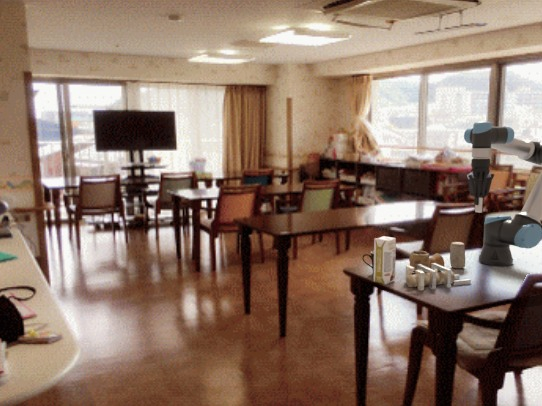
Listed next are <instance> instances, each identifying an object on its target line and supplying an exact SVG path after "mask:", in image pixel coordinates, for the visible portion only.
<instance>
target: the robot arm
mask: <svg viewBox="0 0 542 406" xmlns="http://www.w3.org/2000/svg"><path fill="white" fill-rule="evenodd" d="M463 140H464V141H465V142H466V143H467V144H471V145H472V147H471V157H472V158H471V160H470V161H471V163H470V164H471V165H470V166H471V171H470V173H468V174H466V175H465V177H466V179H467V183H468V184H467V185H468V190H469V194H470V196H471V197H473V205H474V212H475V213H479V214H480V213H483V205H484V204H485V203H484V202H485V198H486V197H487V196H489V193H490V189H491V185H492V181H493V179H494V177H495V174H494V173H492V172H490V171H491V170H490V167H491V156H492V154H491V153H492V149H493V150H496V151H500V152H503V153H506V154H509V155H513V156H517V158H518V159H520V160H522V161H525V162H529V163H532V164H535V165H538V166H540V167H542V141H534V140H529V139H528V140H522V139H518V138H516V137H515V130H514V129H513V128H512V127H510V126H493V123H492V122H491V121H477V122H476V121H475V122H474V123H473V125H472V127H468V128H467V129H466V130H465V131H464V133H463ZM541 219H542V170H541V172H540V174H539V175H538V177H537V180H536V181H535V184H534V185H533V187H532V189H531V192H530V193H529V195H528V197H527V199H526V201H525V203H524V205H523V207H522V209H521V211H520V212H518V213H516V214H515V215H514V217H513V219H512V216H511V215H508V214H507V215H506V214H505V215H504V214H503V215H500V214H499V215H488V216H486V217H485V219H484V224H483V244H482V245H483V246H482V248H481V251H480V254H479V255H478V262H479V263H481V264H485V265H490V266H494V267H495V266H496V267H498V266H499V267H508V266H512V265H513V264H514V259H513V255H512V252H511V248H510V246H514V247H517V248H521V249H532V248H535V247H536V246H538V245H539V244H540V242H541V240H542V222H541Z"/></svg>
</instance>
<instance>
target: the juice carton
mask: <svg viewBox="0 0 542 406" xmlns="http://www.w3.org/2000/svg"><path fill="white" fill-rule="evenodd" d="M396 240H397V239H396V237H391V236H385V235H383V236H380V237H377V238H376V237H375V238H374V242H373V243H374V244H373V251H374V274H373V282H374V283H378V284H382V285H388V284H391V283H393V282H395V279H396V256H397V254H396V253H397V252H396V251H397V245H396V244H397V241H396Z"/></svg>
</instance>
